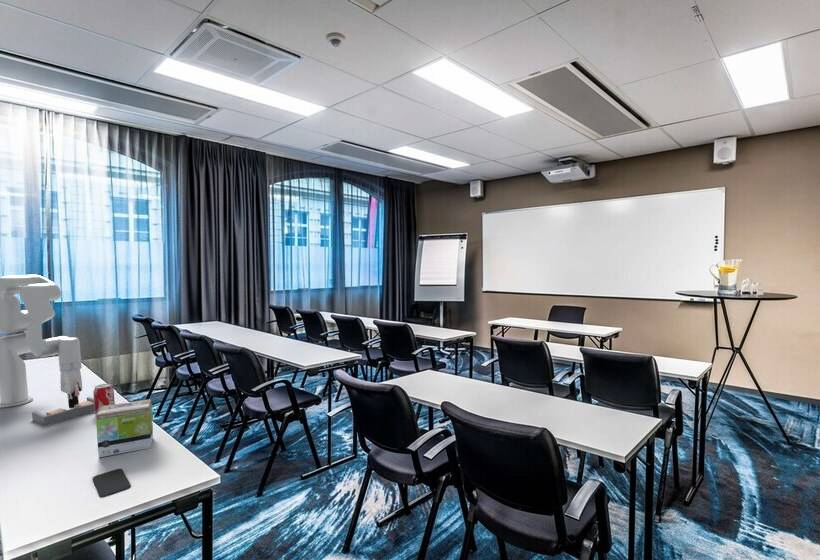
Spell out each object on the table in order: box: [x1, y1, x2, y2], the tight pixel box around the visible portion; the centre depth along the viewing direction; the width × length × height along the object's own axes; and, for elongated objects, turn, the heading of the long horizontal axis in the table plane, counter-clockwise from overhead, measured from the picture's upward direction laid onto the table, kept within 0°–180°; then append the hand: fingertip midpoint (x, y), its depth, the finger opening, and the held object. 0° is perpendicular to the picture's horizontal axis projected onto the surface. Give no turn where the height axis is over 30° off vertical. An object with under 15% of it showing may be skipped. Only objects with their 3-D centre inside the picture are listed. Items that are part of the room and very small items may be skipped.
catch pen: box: [31, 396, 95, 427], centre depth 180 cm, size 13×20×4 cm, turn 148°
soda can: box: [92, 383, 116, 416], centre depth 179 cm, size 7×7×12 cm
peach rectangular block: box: [74, 400, 94, 408], centre depth 185 cm, size 5×5×3 cm
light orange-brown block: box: [45, 408, 67, 416], centre depth 177 cm, size 5×5×3 cm
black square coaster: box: [92, 468, 132, 498], centre depth 123 cm, size 7×1×15 cm
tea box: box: [95, 398, 154, 459], centre depth 146 cm, size 15×10×15 cm, turn 117°
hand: (73, 407), depth 186 cm, fingers closed
